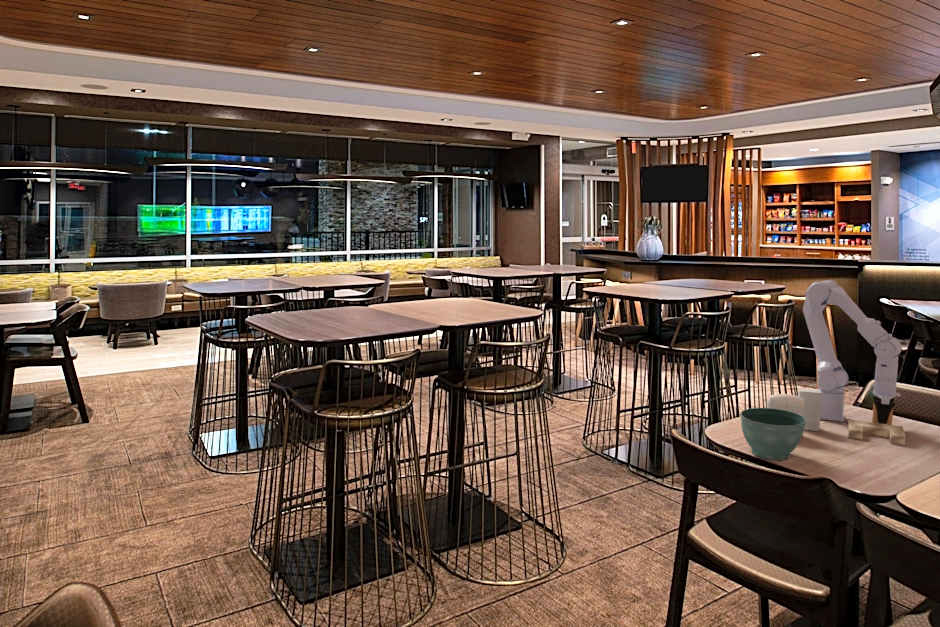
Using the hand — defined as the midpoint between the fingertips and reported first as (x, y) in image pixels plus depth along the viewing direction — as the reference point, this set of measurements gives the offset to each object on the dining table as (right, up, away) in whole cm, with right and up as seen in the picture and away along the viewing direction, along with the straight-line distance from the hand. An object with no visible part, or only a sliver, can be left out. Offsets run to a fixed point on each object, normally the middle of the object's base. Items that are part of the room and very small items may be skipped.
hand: (881, 421), depth 211 cm
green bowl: (-44, -6, -23) cm, 50 cm away
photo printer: (-33, -3, -6) cm, 34 cm away
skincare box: (-23, -2, 0) cm, 23 cm away
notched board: (-6, -3, -8) cm, 10 cm away
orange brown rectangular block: (0, -2, 0) cm, 2 cm away
